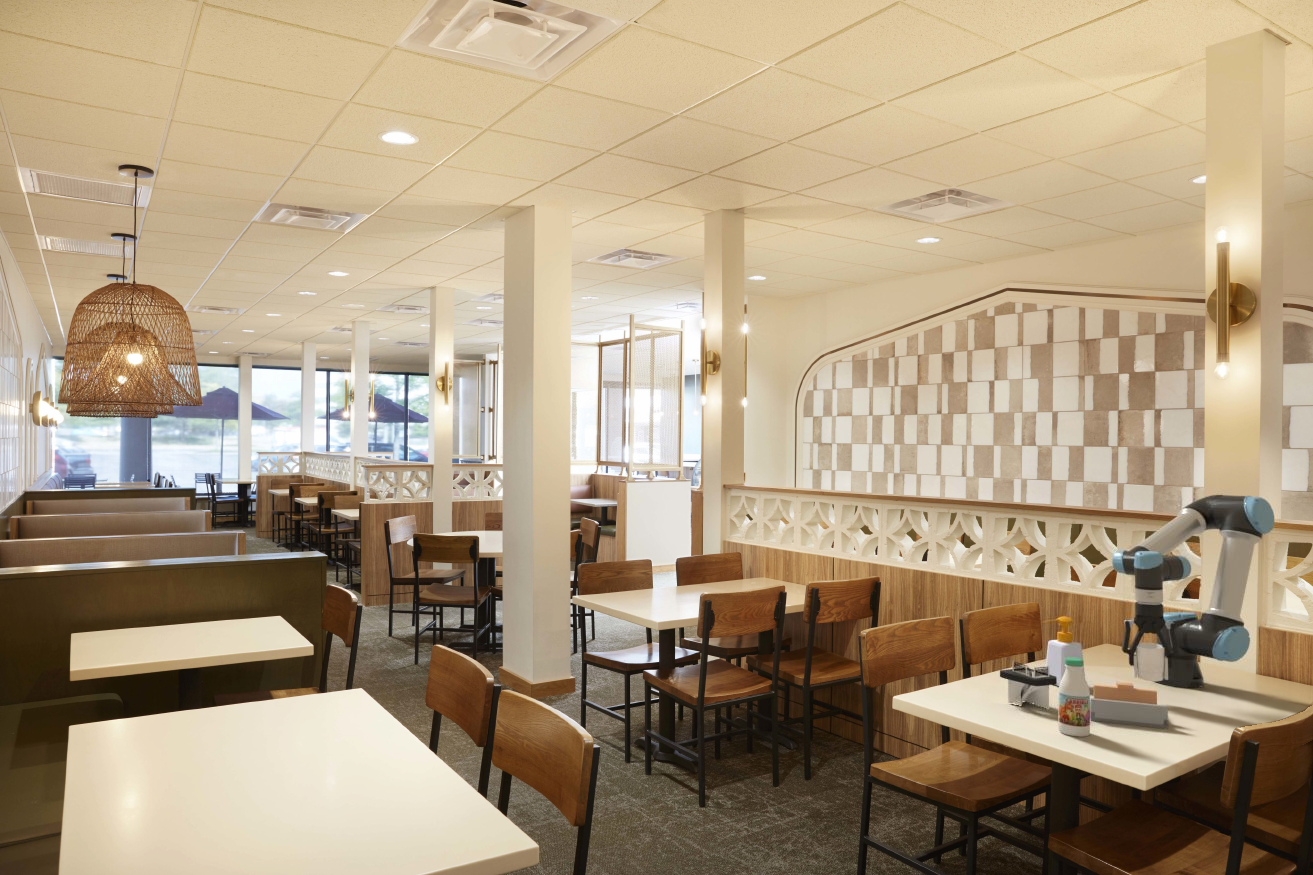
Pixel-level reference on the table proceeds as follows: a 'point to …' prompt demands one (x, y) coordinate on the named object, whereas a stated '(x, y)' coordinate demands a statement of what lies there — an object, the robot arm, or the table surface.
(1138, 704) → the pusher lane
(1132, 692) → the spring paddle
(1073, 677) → the milk bottle
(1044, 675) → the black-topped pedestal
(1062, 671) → the soap bottle
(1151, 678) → the white cup
